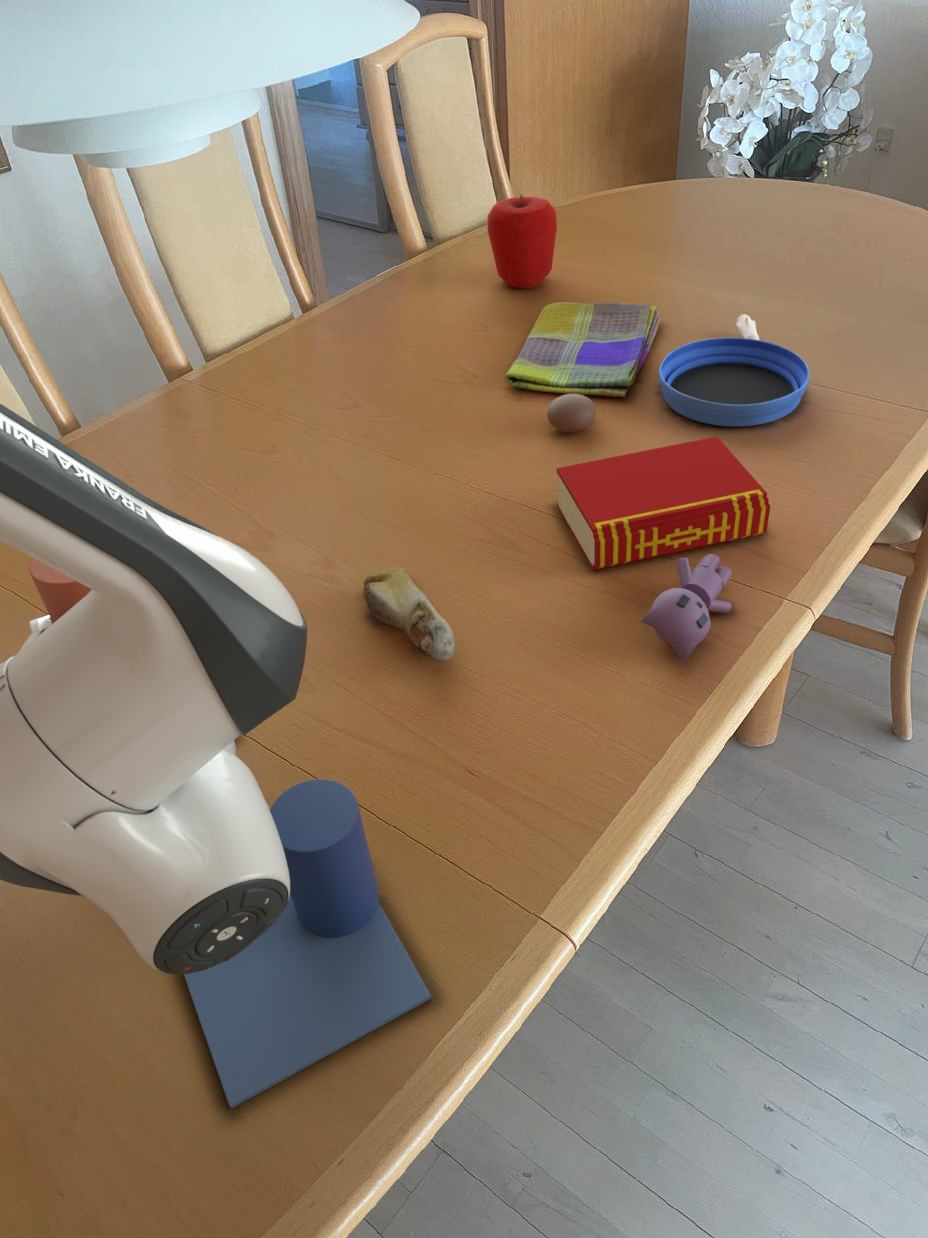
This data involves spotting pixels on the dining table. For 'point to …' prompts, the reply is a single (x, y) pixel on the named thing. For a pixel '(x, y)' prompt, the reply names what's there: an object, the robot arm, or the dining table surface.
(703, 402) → the bowl
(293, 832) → the blue canister
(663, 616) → the figurine
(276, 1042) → the blue mat
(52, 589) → the terracotta canister
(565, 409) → the egg
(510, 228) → the apple
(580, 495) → the book
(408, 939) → the dining table surface
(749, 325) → the small white plastic part
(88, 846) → the robot arm
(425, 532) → the dining table surface
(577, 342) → the dish towel
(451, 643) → the weathered bone fragment
